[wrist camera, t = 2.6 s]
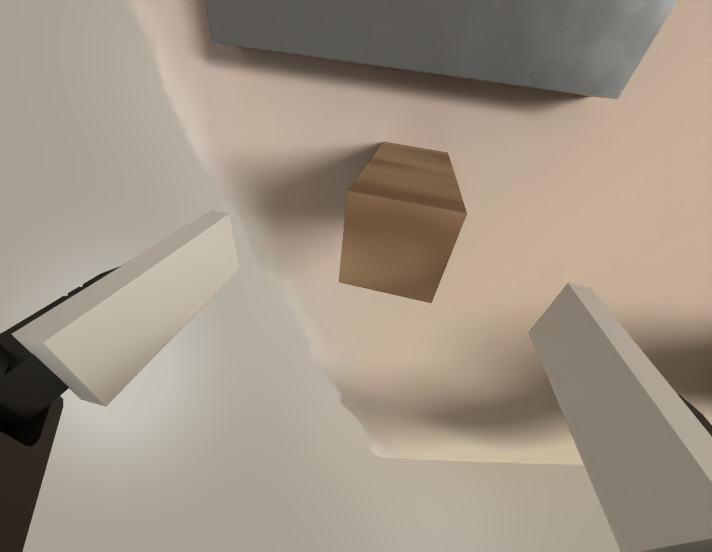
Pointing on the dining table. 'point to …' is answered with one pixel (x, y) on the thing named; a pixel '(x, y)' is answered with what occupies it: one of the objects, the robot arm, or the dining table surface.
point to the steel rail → (458, 37)
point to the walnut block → (401, 222)
